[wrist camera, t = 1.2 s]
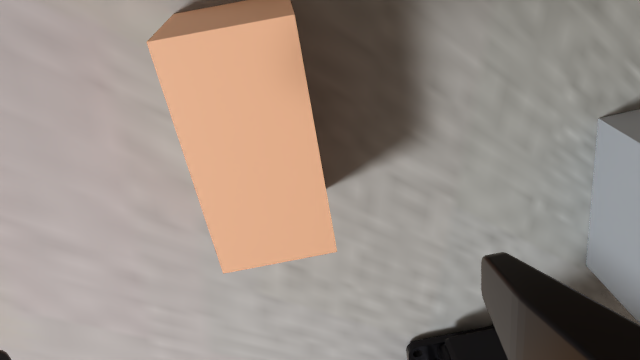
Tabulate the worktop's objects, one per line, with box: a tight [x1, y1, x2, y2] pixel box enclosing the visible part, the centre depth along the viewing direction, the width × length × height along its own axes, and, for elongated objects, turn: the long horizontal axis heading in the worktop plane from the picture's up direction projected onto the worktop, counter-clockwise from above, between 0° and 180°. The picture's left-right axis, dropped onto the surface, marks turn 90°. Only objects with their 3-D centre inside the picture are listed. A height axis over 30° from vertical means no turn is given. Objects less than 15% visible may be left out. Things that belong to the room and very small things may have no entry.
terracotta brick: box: [147, 0, 337, 274], centre depth 17 cm, size 8×4×4 cm, turn 9°
